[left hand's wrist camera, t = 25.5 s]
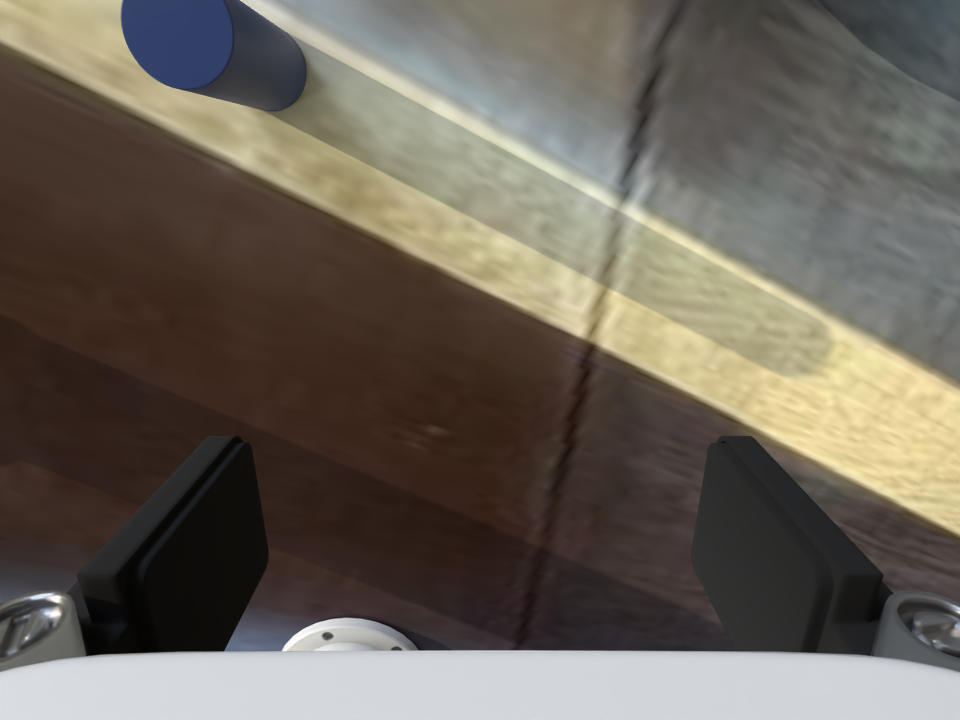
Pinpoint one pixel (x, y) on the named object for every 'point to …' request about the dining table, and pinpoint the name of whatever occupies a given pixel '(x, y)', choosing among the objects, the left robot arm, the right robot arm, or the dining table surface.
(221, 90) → the canister
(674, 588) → the dining table surface
